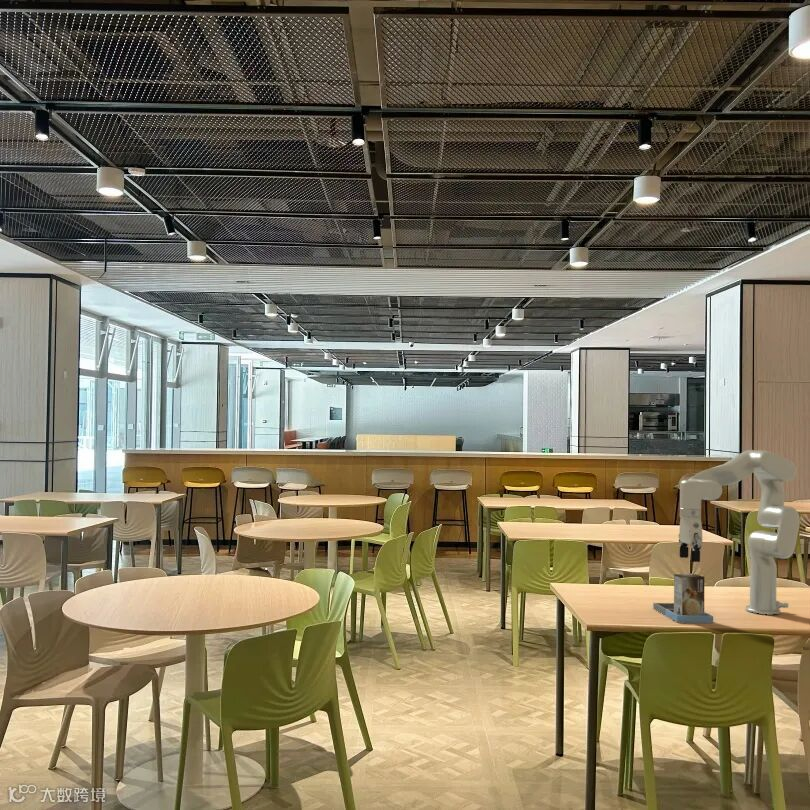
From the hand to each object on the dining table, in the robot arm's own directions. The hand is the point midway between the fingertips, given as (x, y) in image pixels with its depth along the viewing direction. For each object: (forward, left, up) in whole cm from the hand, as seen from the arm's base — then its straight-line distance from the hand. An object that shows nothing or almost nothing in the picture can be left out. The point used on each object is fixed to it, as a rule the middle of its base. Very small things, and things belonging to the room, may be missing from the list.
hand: (689, 559), depth 296 cm
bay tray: (0, -5, -22) cm, 23 cm away
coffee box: (0, 0, -22) cm, 22 cm away
